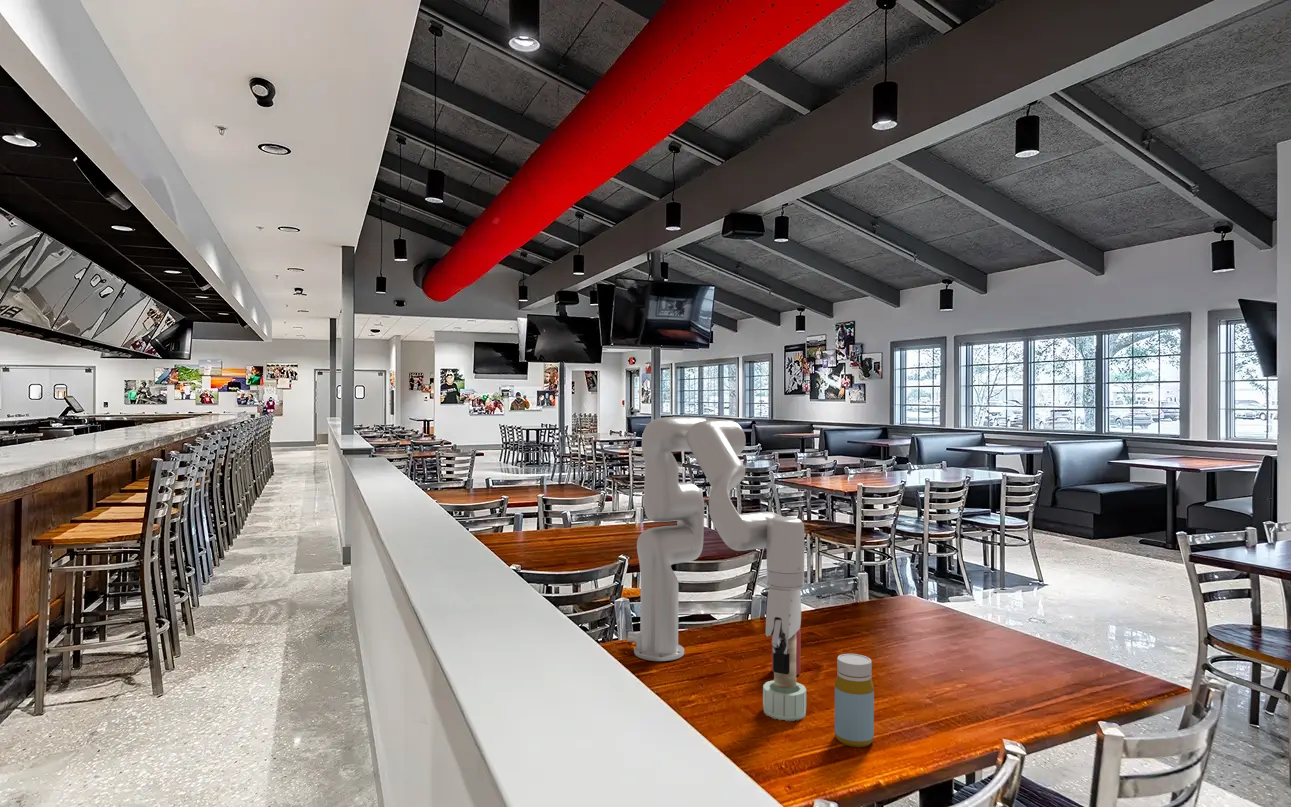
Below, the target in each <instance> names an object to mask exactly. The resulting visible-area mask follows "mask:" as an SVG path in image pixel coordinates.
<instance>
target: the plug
mask: <svg viewBox="0 0 1291 807" xmlns="http://www.w3.org/2000/svg"><path fill="white" fill-rule="evenodd" d="M784 636H785V635H782V634H781V637H784ZM781 643H783V645H784V641H781ZM788 654H790V672H789V674H781V673H776V672H773V680H774V685H775V686H777V687H779V688H785V689H790V688H794V687H796V682H797V676H796V635H795V634H794V635H793V636H792V637H791V638H790V639H789V643H788Z"/></svg>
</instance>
